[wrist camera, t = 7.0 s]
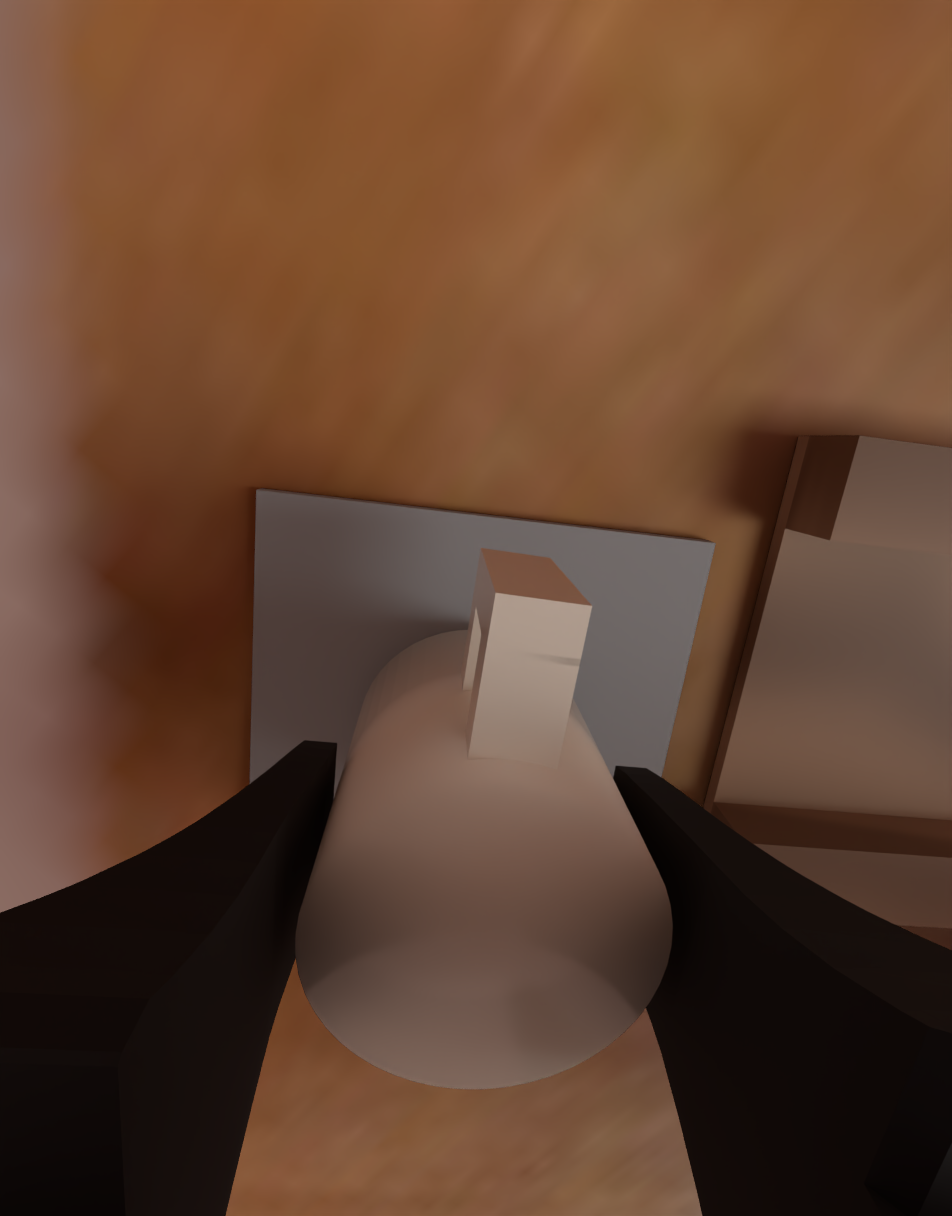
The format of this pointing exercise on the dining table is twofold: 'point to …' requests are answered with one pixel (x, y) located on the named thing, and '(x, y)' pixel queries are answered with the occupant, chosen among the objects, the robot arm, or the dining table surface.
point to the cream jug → (483, 857)
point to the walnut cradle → (851, 682)
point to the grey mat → (455, 614)
